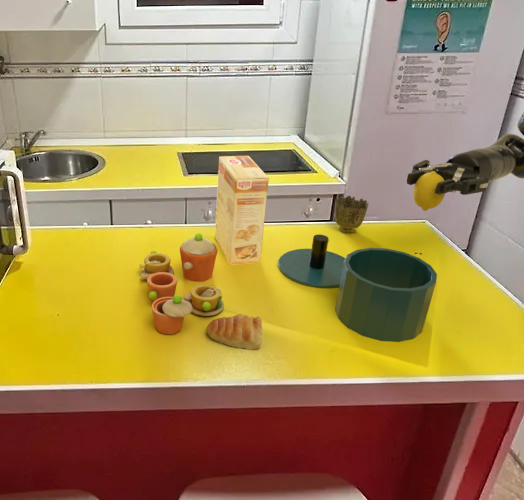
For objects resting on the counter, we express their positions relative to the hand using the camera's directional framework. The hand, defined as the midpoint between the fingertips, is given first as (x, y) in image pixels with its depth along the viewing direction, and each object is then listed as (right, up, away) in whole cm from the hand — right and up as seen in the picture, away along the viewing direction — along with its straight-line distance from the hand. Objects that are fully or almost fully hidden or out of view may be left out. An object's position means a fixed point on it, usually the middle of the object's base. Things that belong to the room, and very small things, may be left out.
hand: (423, 184), depth 98 cm
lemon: (+2, -5, +4) cm, 7 cm away
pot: (-11, -25, -5) cm, 27 cm away
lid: (-18, -16, +10) cm, 26 cm away
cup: (-6, -8, +27) cm, 28 cm away
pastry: (-36, -27, -10) cm, 47 cm away
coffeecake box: (-33, -13, +18) cm, 40 cm away
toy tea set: (-45, -22, +1) cm, 50 cm away
